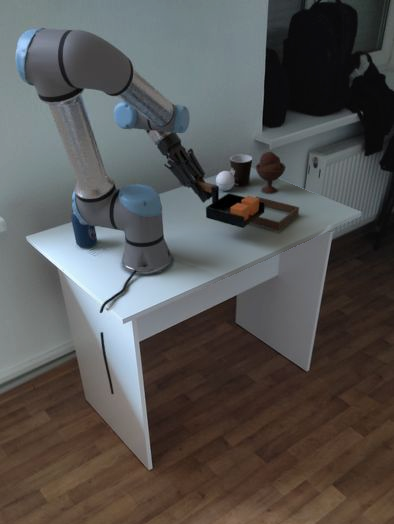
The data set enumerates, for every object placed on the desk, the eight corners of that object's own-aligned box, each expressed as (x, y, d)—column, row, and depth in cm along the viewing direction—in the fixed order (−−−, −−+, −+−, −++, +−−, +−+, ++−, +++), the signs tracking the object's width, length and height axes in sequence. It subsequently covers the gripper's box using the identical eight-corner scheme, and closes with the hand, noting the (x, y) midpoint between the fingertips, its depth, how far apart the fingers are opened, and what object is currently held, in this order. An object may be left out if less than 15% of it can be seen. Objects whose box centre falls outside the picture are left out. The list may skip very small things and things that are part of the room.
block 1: (230, 220, 159) (230, 207, 157) (237, 215, 162) (237, 202, 159) (241, 223, 158) (242, 210, 155) (248, 218, 160) (249, 205, 157)
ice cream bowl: (283, 196, 191) (286, 156, 181) (253, 195, 193) (255, 156, 183) (284, 185, 199) (287, 146, 189) (255, 184, 201) (257, 146, 191)
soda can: (97, 248, 166) (91, 214, 158) (76, 250, 165) (69, 216, 158) (97, 238, 171) (91, 205, 163) (77, 240, 171) (70, 207, 163)
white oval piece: (211, 189, 198) (211, 171, 194) (226, 184, 202) (226, 166, 197) (228, 197, 192) (228, 178, 187) (242, 192, 195) (243, 173, 191)
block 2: (240, 212, 163) (241, 200, 161) (247, 207, 166) (248, 195, 163) (252, 215, 161) (252, 203, 159) (258, 210, 164) (259, 198, 161)
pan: (170, 207, 170) (168, 184, 165) (193, 193, 178) (192, 171, 173) (243, 228, 157) (244, 203, 151) (264, 212, 165) (265, 188, 160)
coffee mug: (252, 187, 199) (253, 162, 192) (230, 188, 199) (230, 162, 192) (250, 176, 207) (251, 151, 201) (229, 176, 208) (229, 152, 201)
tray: (235, 220, 178) (235, 211, 175) (255, 205, 186) (256, 196, 184) (278, 232, 170) (279, 223, 167) (298, 216, 178) (299, 207, 176)
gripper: (156, 138, 156) (201, 201, 159) (185, 125, 165) (227, 185, 168) (145, 152, 162) (188, 213, 165) (173, 139, 171) (214, 196, 174)
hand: (208, 198), depth 167 cm, fingers closed on pan, 2 cm apart
